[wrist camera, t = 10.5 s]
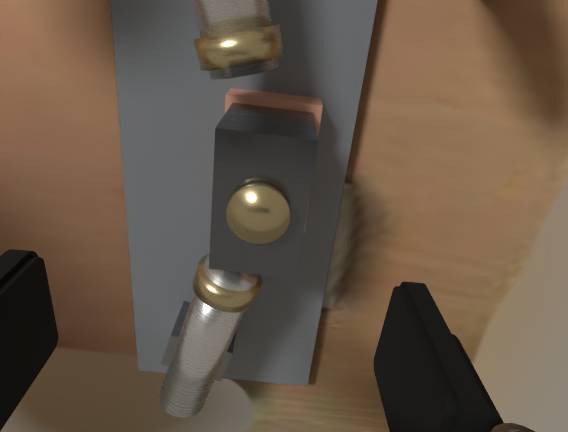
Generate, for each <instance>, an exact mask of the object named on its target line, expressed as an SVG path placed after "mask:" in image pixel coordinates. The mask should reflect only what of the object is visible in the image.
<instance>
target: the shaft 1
mask: <svg viewBox="0 0 568 432" xmlns="http://www.w3.org/2000/svg"><path fill="white" fill-rule="evenodd" d="M192 2H193V7H194V11H195V15H196V20H197V24H198V28H199V33H200V37H201V38H197V39H193V40H194V44H195V48H196V52H197V57H198V61H199V65H200V69H201V71H208V72H209V77H210V79H214V80H217V79H229V78H236V77H242V76H248V75H253V74H257V73H262V72H266V71H269V70H272V69H275V68H277V67H279V65H278V59H277V58H280V57H282V56H284V51H283V44H282V37H281V30H280V24H276V25H272V20H271V14H270V7H269V1H268V0H192Z"/></svg>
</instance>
